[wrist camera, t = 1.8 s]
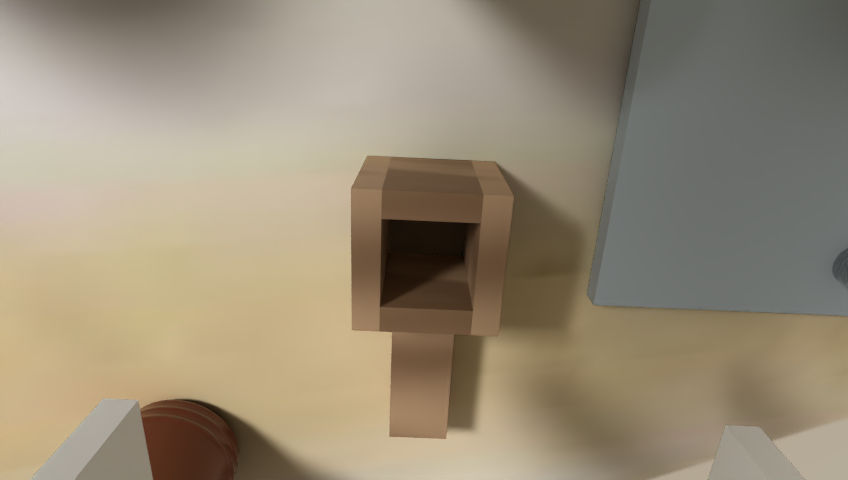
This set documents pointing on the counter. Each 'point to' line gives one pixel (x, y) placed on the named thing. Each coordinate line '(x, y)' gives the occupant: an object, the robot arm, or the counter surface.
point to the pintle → (841, 267)
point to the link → (427, 274)
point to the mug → (188, 442)
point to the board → (729, 160)
